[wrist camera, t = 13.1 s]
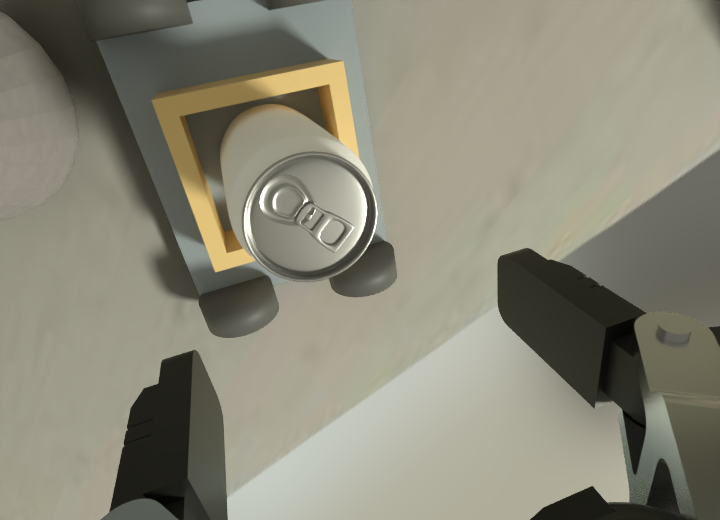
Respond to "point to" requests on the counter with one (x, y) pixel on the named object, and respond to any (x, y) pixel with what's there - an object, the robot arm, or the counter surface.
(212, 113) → the chassis
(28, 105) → the coffee pot
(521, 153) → the counter surface
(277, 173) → the can
